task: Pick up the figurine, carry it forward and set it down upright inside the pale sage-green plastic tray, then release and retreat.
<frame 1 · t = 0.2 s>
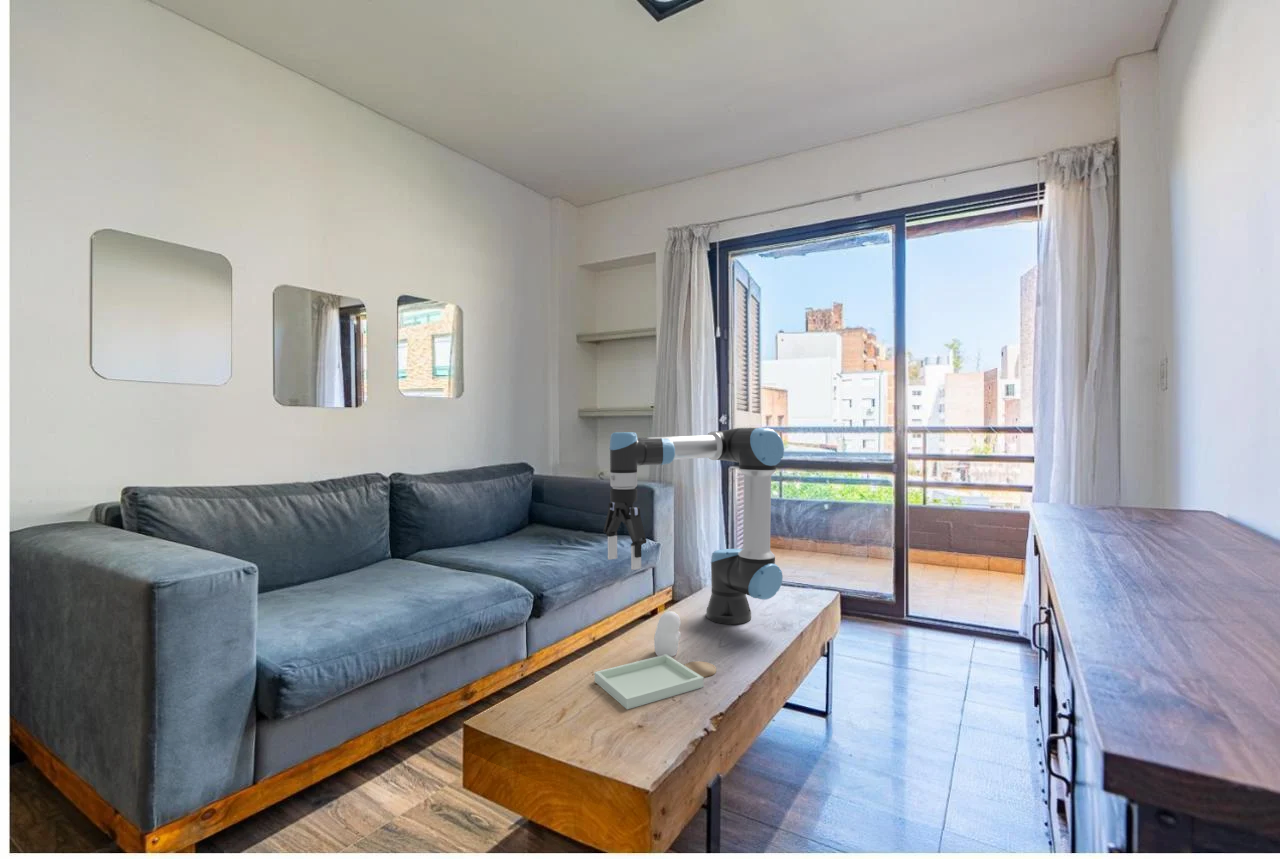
hand: (623, 563, 158), 27 cm above the table, fingers open, 13 cm apart
cork coaster: (699, 670, 152), on the table
tray: (648, 684, 144), on the table
figurine: (667, 653, 164), on the table
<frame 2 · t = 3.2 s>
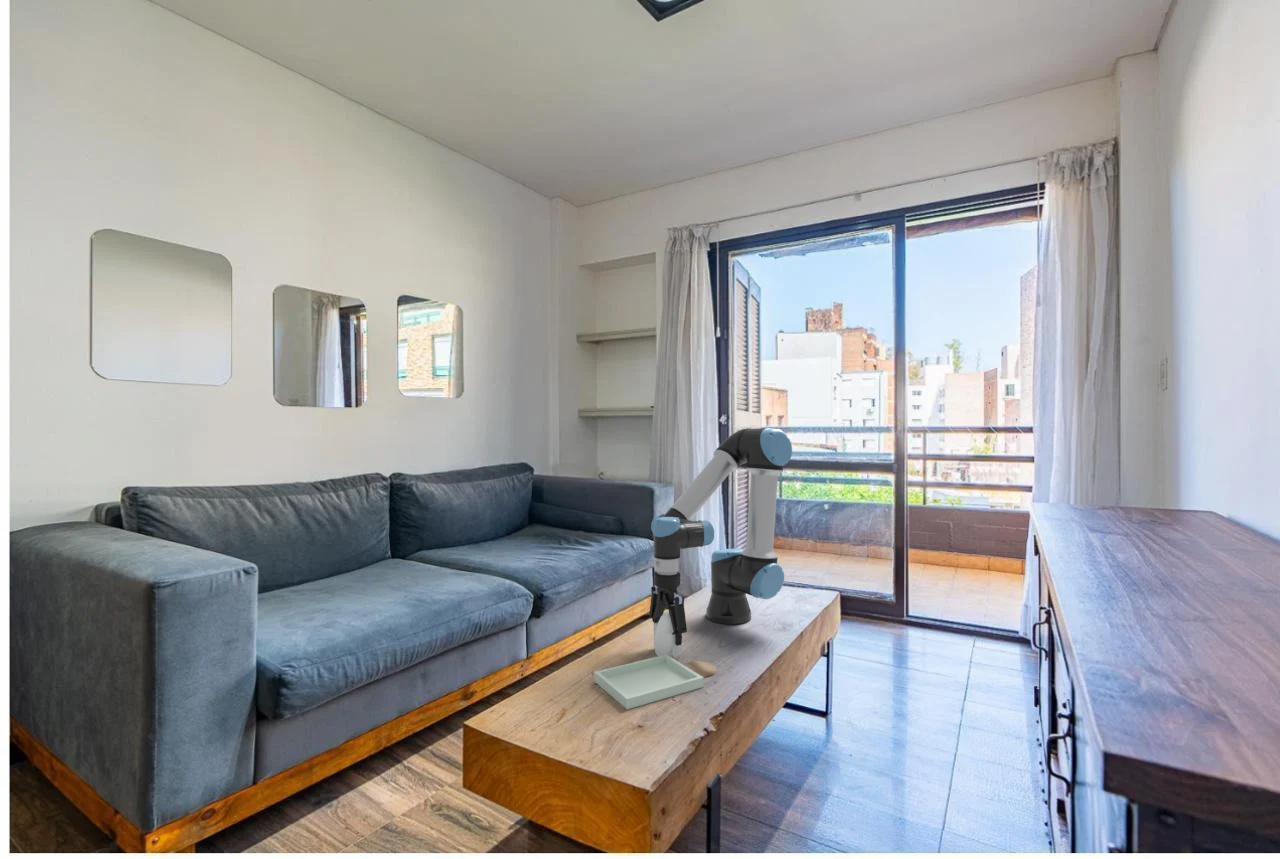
hand: (667, 650, 164), 1 cm above the table, fingers open, 9 cm apart
figurine: (667, 653, 164), on the table, touching gripper
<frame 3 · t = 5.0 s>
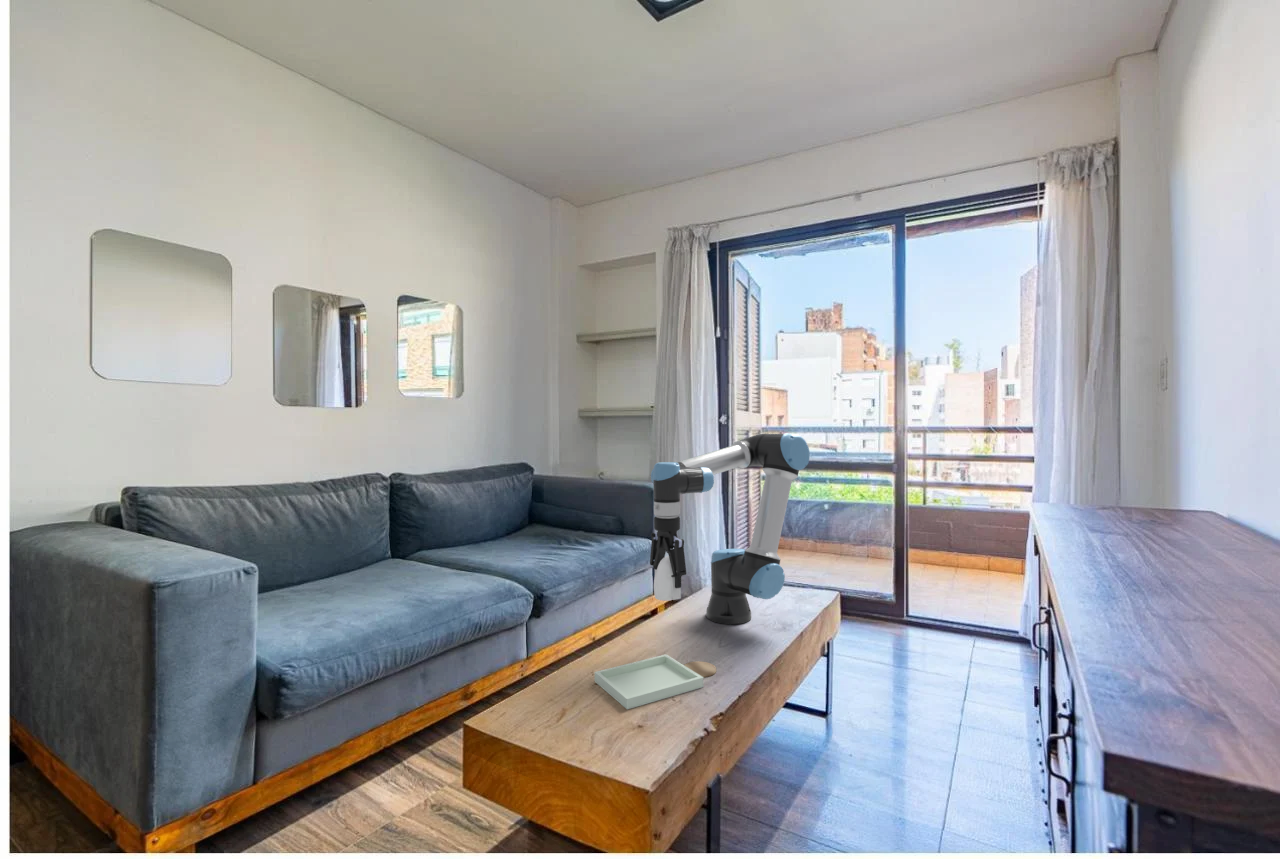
hand: (667, 594, 164), 17 cm above the table, fingers closed on figurine, 8 cm apart
figurine: (667, 598, 164), point 16 cm above the table, touching gripper
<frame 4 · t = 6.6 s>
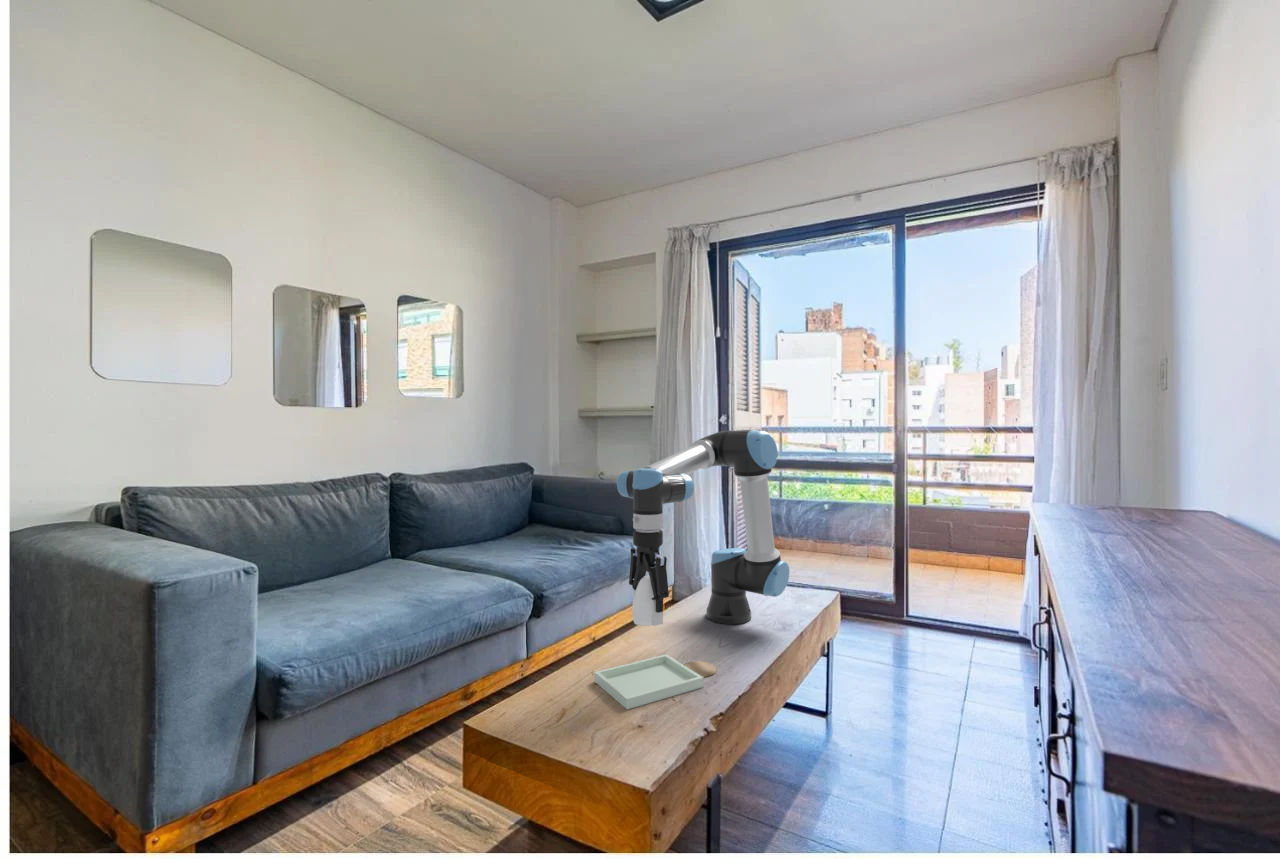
hand: (648, 619, 144), 16 cm above the table, fingers closed on figurine, 8 cm apart
figurine: (647, 622, 144), point 15 cm above the table, touching gripper
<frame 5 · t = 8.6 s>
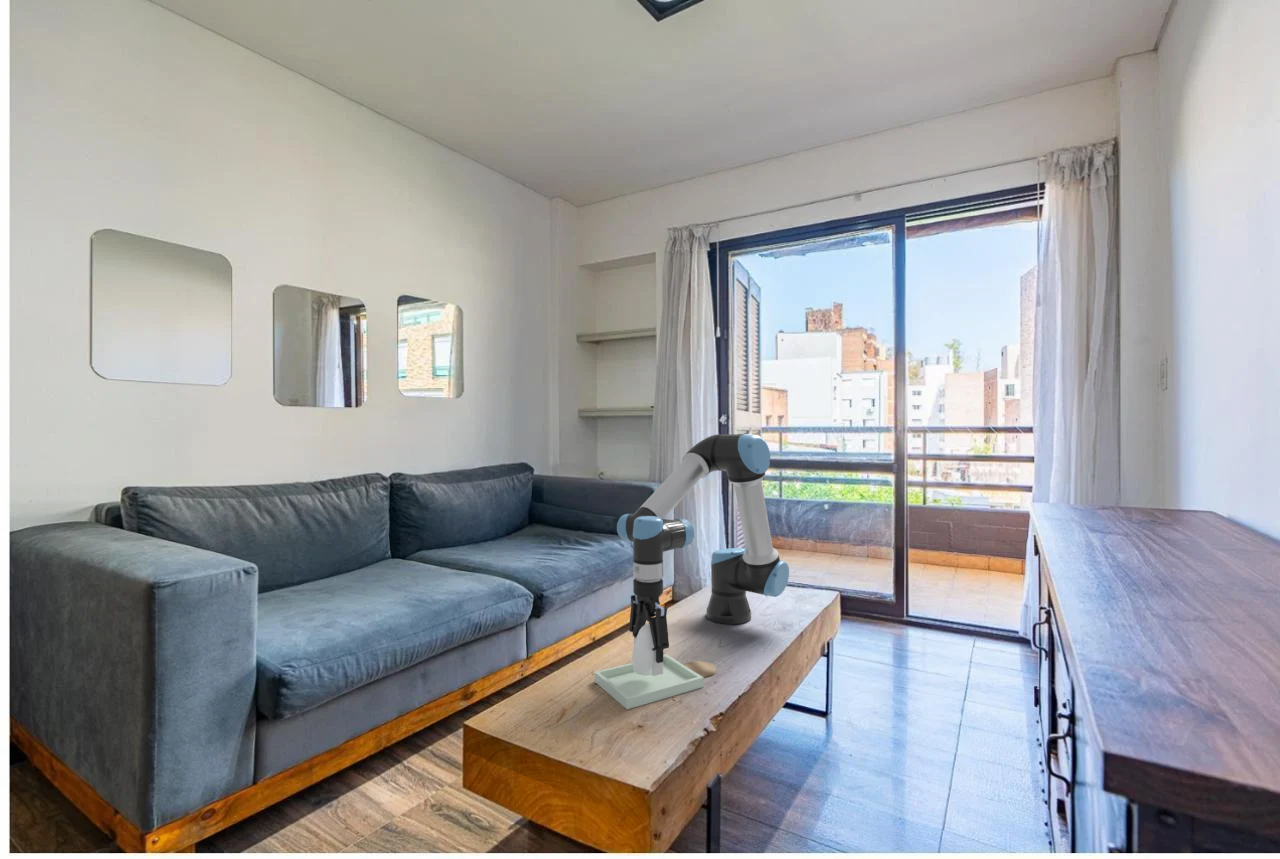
hand: (648, 667, 144), 4 cm above the table, fingers closed on figurine, 8 cm apart
figurine: (647, 671, 144), point 3 cm above the table, touching gripper
when the fingers open (3 cm above the table, at t = 9.7 s): figurine drops 2 cm, resting on tray.
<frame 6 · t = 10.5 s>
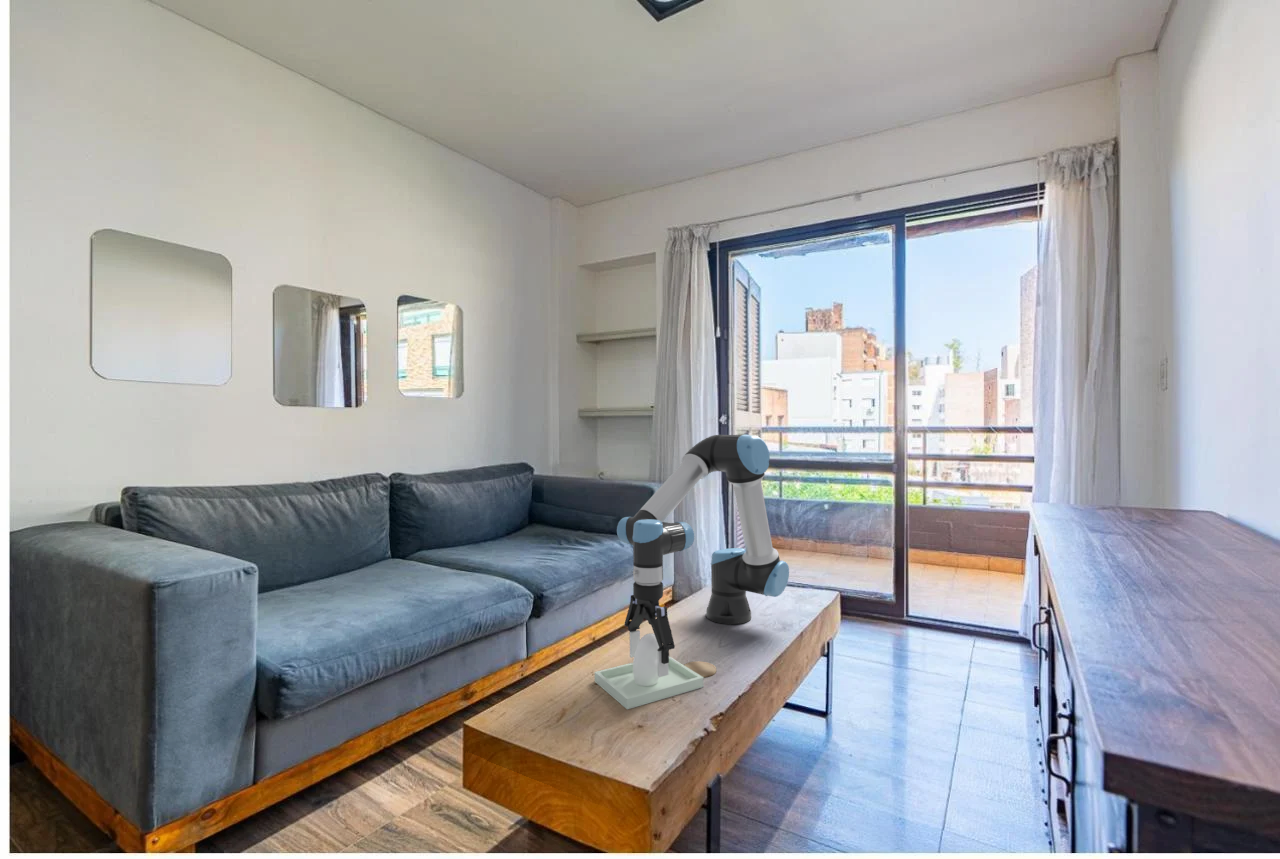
hand: (648, 665, 144), 5 cm above the table, fingers open, 13 cm apart
figurine: (648, 681, 144), resting on tray
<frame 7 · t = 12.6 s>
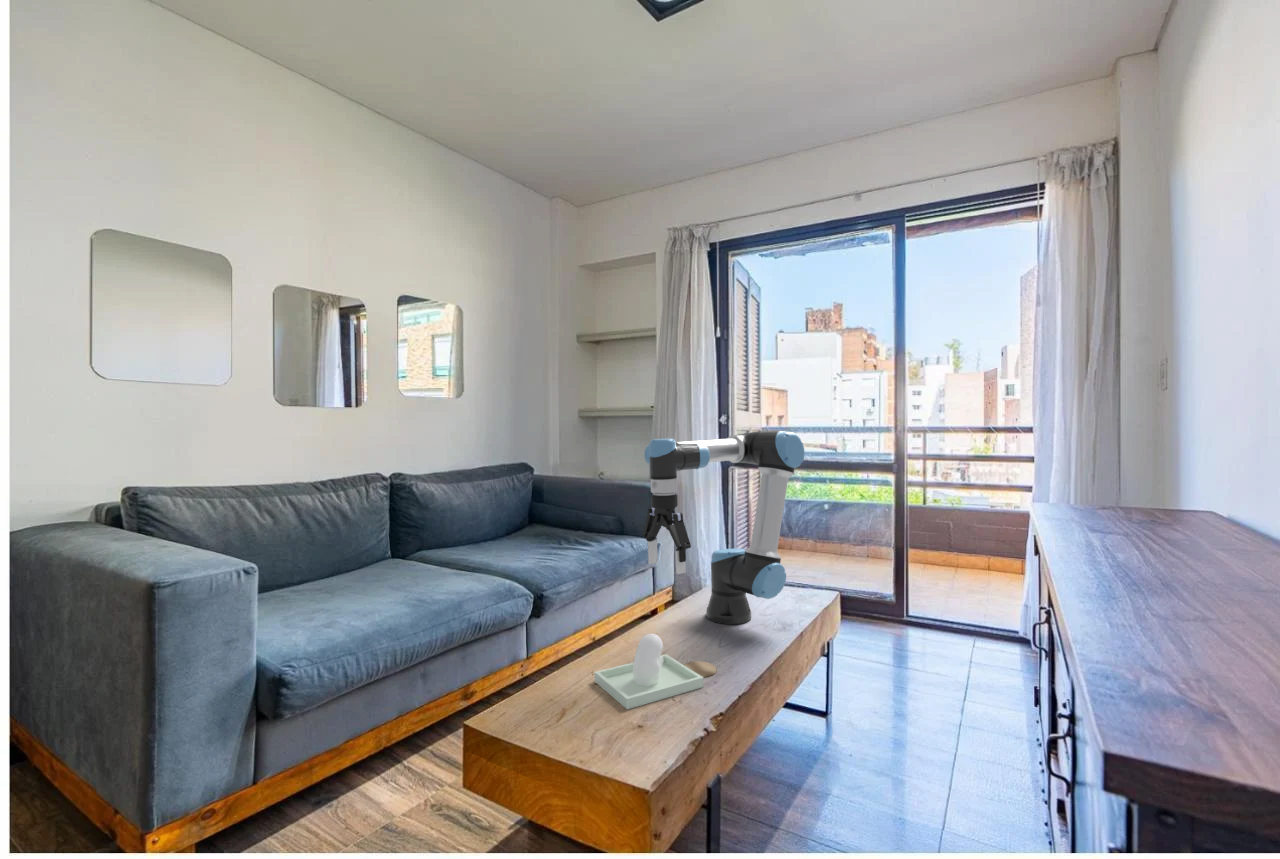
hand: (666, 568, 161), 25 cm above the table, fingers open, 13 cm apart
nothing on the table moved.
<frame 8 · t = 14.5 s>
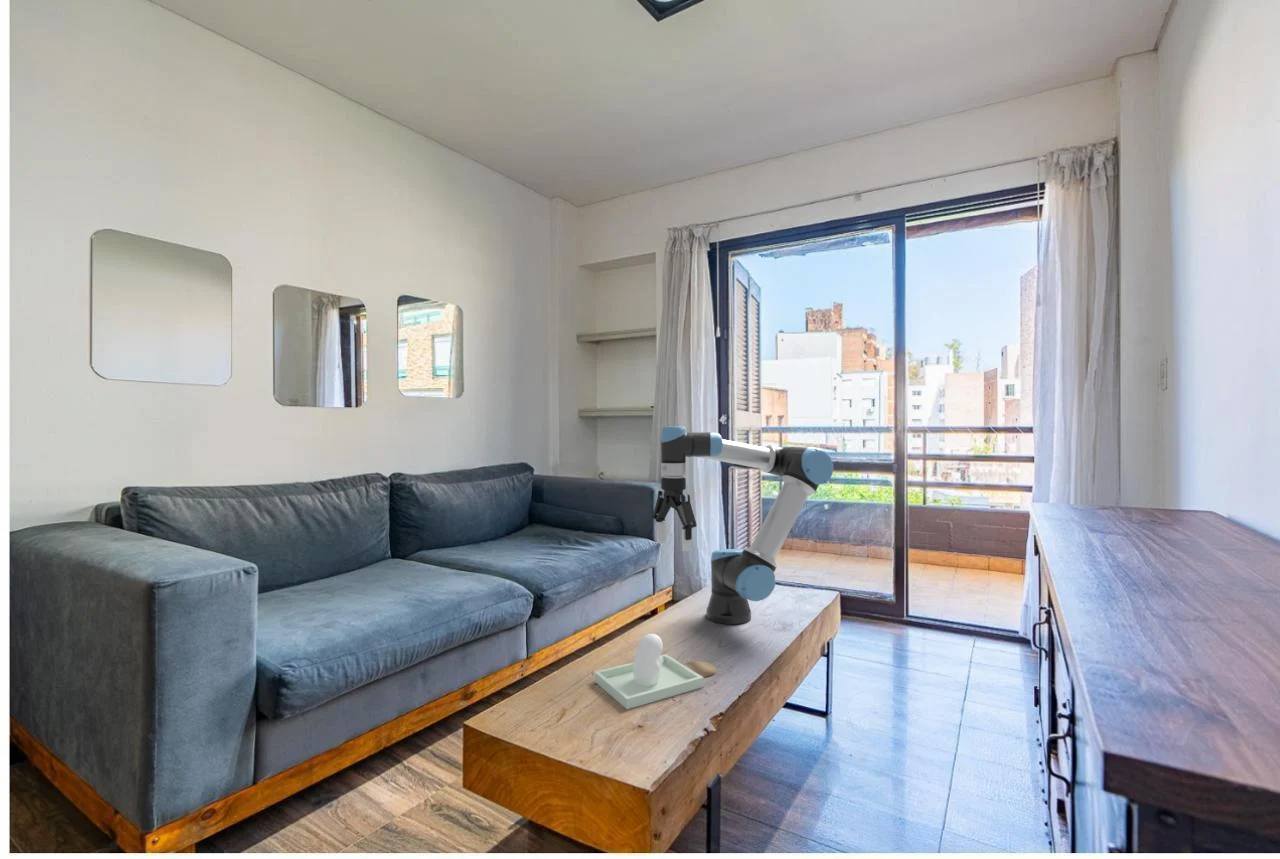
hand: (673, 546, 173), 29 cm above the table, fingers open, 13 cm apart
nothing on the table moved.
at the end: figurine inside the target area on the tray (0.2 cm from its centre), point 0.4 cm above the tray's base; figurine tilted 0°; the gripper is holding nothing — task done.
